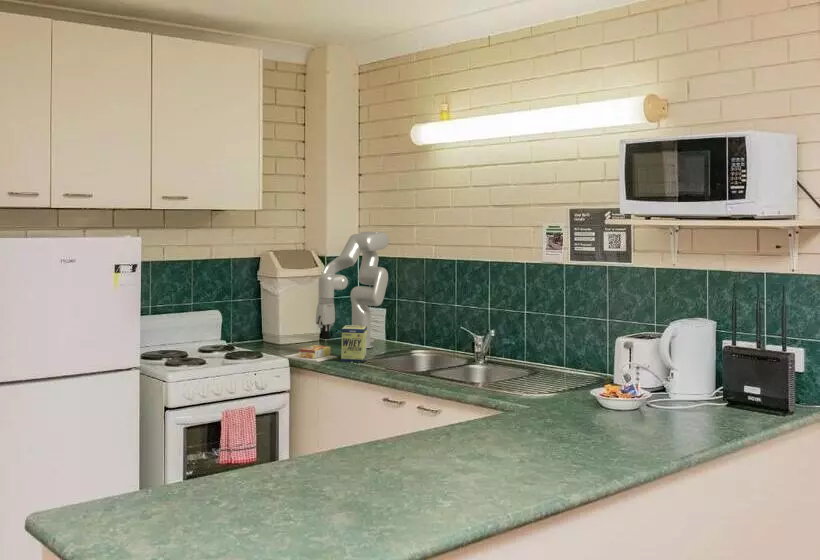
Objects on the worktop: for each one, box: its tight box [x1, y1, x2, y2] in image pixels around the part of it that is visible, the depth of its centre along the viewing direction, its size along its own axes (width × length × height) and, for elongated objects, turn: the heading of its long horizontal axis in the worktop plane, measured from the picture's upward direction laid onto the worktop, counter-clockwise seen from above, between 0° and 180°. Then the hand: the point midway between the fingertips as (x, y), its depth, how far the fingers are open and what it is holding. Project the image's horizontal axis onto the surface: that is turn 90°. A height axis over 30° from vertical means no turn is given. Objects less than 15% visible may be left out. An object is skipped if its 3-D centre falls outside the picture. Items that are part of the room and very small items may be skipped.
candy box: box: [298, 344, 332, 359], centre depth 429 cm, size 9×4×15 cm
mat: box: [282, 352, 338, 363], centre depth 428 cm, size 16×20×1 cm
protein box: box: [340, 324, 367, 363], centre depth 425 cm, size 10×16×16 cm
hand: (325, 338), depth 438 cm, fingers closed
